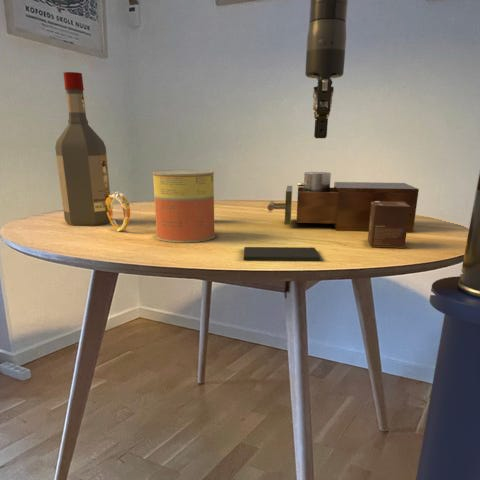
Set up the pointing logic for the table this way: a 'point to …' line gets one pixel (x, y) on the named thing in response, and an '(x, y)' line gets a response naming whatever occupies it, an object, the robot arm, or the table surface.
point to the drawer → (310, 206)
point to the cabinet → (359, 202)
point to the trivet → (281, 253)
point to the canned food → (184, 205)
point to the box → (388, 224)
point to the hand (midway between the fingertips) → (320, 138)
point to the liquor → (81, 162)
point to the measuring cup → (316, 182)
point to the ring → (125, 206)
